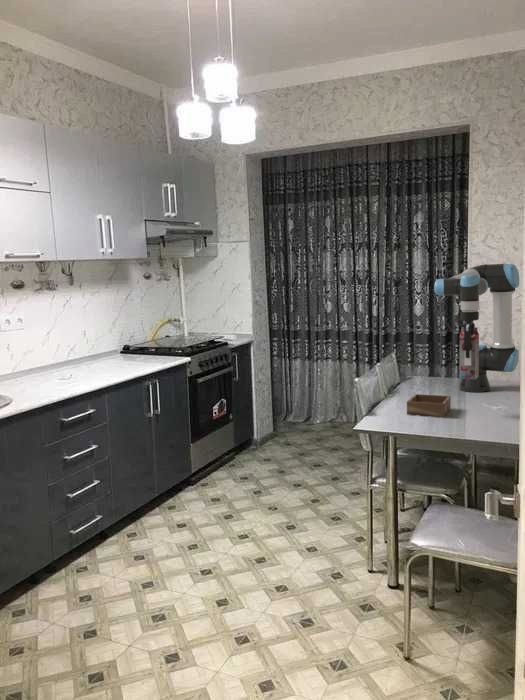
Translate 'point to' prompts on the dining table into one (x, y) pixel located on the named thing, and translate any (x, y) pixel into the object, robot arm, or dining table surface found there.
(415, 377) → the dining table surface
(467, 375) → the juice carton
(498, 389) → the dining table surface
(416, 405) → the walled box
